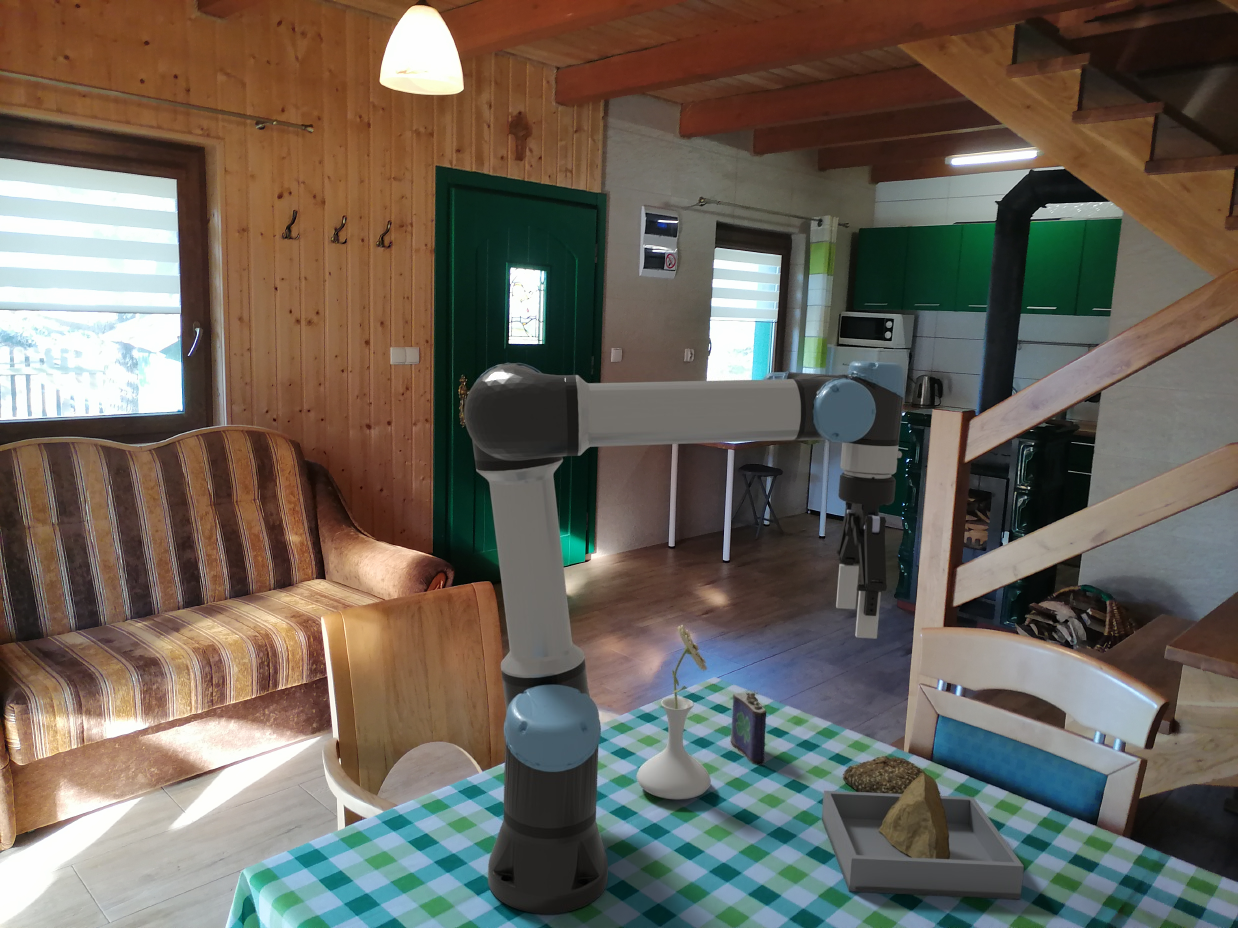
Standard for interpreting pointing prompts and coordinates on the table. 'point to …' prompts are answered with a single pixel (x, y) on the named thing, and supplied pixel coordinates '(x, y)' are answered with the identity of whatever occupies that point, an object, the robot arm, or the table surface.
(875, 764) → the bread roll
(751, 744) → the flask
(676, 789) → the flower in vase
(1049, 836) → the table surface
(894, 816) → the rock
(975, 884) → the bin
